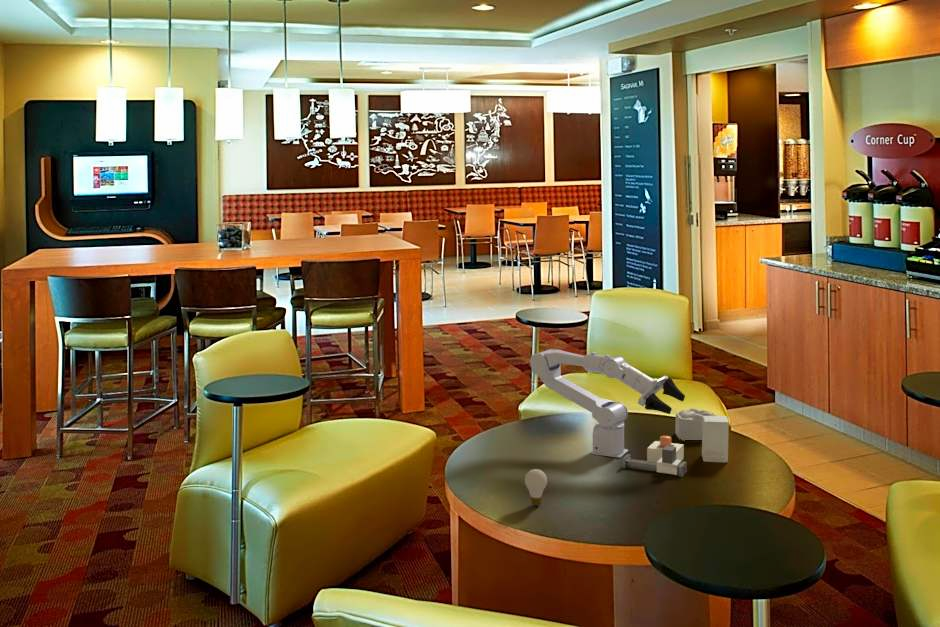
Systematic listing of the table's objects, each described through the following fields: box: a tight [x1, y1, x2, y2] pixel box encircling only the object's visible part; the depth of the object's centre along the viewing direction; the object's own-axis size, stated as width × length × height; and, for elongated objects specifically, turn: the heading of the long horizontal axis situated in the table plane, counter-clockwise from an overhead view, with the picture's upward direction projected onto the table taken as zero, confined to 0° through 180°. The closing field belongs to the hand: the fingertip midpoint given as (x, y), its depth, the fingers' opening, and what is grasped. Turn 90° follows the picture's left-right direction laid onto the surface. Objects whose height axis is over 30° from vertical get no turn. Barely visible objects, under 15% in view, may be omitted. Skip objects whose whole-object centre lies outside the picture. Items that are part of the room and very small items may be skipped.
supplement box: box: [701, 415, 730, 463], centre depth 267 cm, size 7×7×13 cm
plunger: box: [659, 435, 672, 448], centre depth 266 cm, size 3×3×5 cm
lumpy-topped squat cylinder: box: [675, 407, 717, 441], centre depth 291 cm, size 10×13×9 cm
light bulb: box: [524, 468, 548, 507], centre depth 232 cm, size 6×6×10 cm
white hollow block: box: [646, 440, 685, 462], centre depth 267 cm, size 9×8×4 cm
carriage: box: [656, 446, 682, 476], centre depth 256 cm, size 6×5×7 cm
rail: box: [621, 453, 688, 478], centre depth 259 cm, size 18×5×3 cm, turn 61°
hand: (677, 404), depth 260 cm, fingers open, 7 cm apart
